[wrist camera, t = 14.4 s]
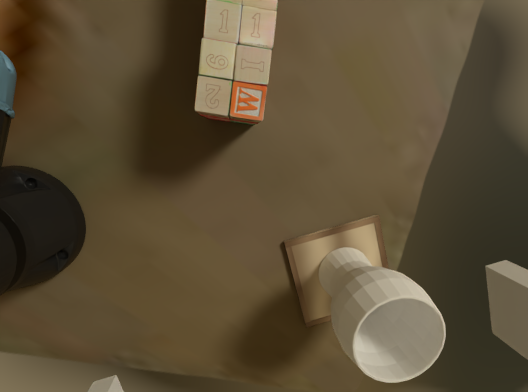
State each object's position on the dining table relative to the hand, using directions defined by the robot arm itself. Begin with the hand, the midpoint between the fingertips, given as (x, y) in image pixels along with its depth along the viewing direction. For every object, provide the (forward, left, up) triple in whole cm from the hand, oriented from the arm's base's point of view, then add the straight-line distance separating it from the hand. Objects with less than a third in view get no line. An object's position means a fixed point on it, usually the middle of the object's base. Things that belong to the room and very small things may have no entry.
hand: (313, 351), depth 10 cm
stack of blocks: (+3, +19, -31) cm, 37 cm away
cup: (+9, -15, -30) cm, 35 cm away
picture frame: (+9, -15, -31) cm, 35 cm away
